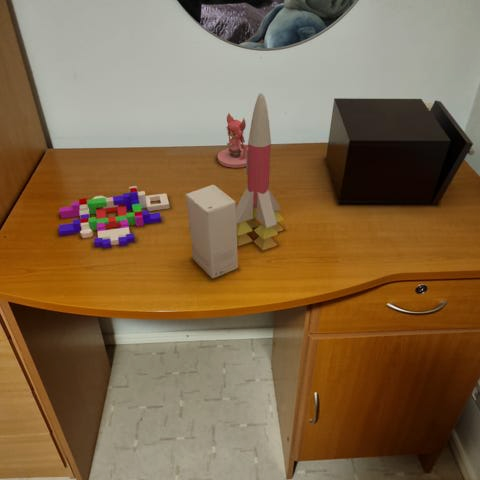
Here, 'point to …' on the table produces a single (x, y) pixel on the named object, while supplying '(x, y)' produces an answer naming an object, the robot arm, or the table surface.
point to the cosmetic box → (213, 230)
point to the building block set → (124, 219)
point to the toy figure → (234, 145)
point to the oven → (385, 151)
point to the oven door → (450, 149)
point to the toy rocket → (258, 185)
